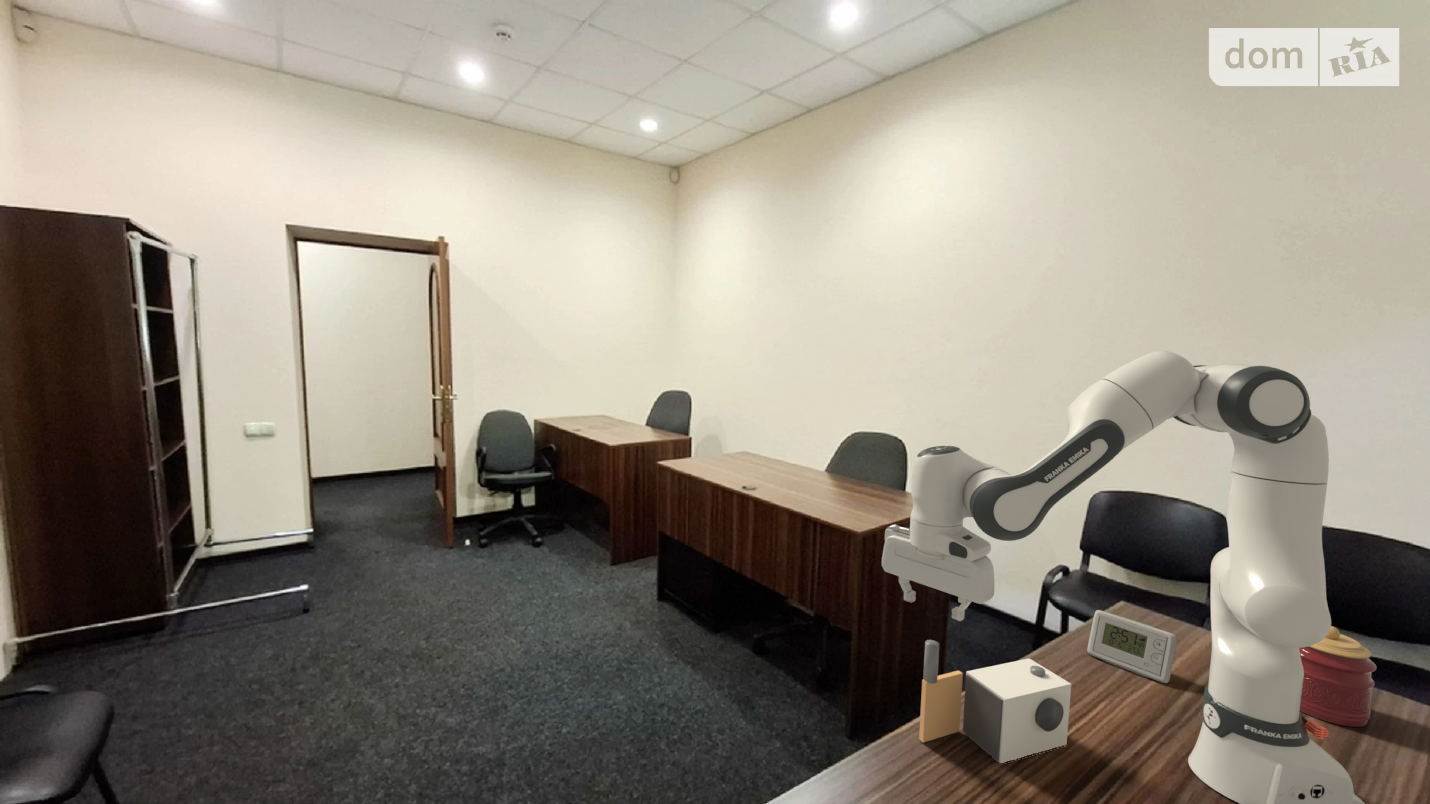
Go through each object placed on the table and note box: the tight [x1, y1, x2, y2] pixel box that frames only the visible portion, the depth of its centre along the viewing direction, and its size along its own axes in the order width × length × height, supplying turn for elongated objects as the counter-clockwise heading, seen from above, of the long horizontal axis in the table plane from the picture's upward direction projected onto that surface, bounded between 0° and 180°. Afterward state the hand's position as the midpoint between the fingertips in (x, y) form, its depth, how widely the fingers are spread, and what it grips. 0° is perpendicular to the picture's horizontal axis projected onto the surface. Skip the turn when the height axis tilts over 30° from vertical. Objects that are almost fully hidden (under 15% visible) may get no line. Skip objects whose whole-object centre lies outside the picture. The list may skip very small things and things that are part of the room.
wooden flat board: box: [918, 639, 964, 743], centre depth 104 cm, size 2×9×19 cm, turn 112°
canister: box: [1299, 625, 1377, 728], centre depth 116 cm, size 13×13×18 cm
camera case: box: [962, 658, 1072, 764], centre depth 104 cm, size 16×10×13 cm, turn 109°
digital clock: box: [1086, 609, 1178, 684], centre depth 130 cm, size 16×9×11 cm, turn 26°
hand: (932, 609), depth 102 cm, fingers open, 8 cm apart
